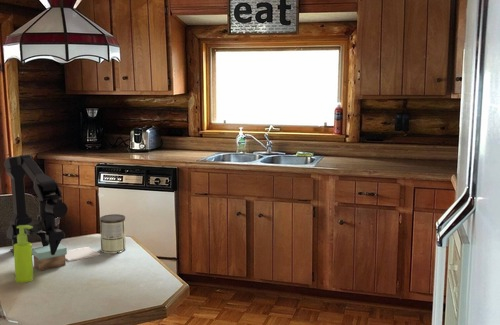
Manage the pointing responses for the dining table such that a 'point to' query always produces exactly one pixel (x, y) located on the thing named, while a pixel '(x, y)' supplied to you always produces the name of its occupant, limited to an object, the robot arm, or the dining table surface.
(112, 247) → the coffee can
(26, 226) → the soap dispenser
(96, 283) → the dining table surface
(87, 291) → the dining table surface
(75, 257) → the mat
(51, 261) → the wooden box
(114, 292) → the dining table surface
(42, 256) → the lid
